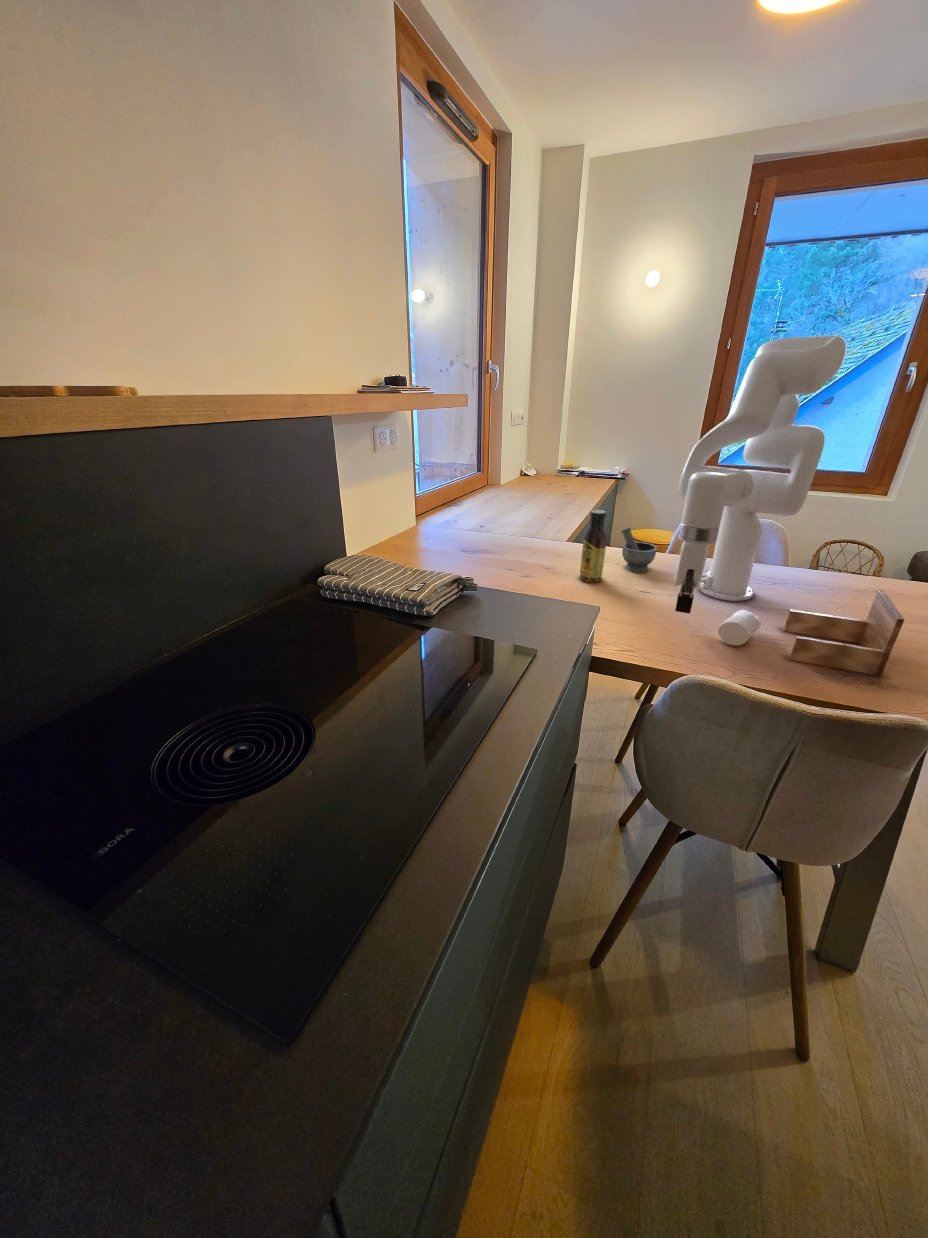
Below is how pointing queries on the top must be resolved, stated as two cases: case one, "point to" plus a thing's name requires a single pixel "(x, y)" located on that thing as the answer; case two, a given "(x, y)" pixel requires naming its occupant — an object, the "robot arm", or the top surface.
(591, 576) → the sauce bottle
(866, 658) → the u-shaped wooden enclosure
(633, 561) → the mortar and pestle
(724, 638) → the roll
